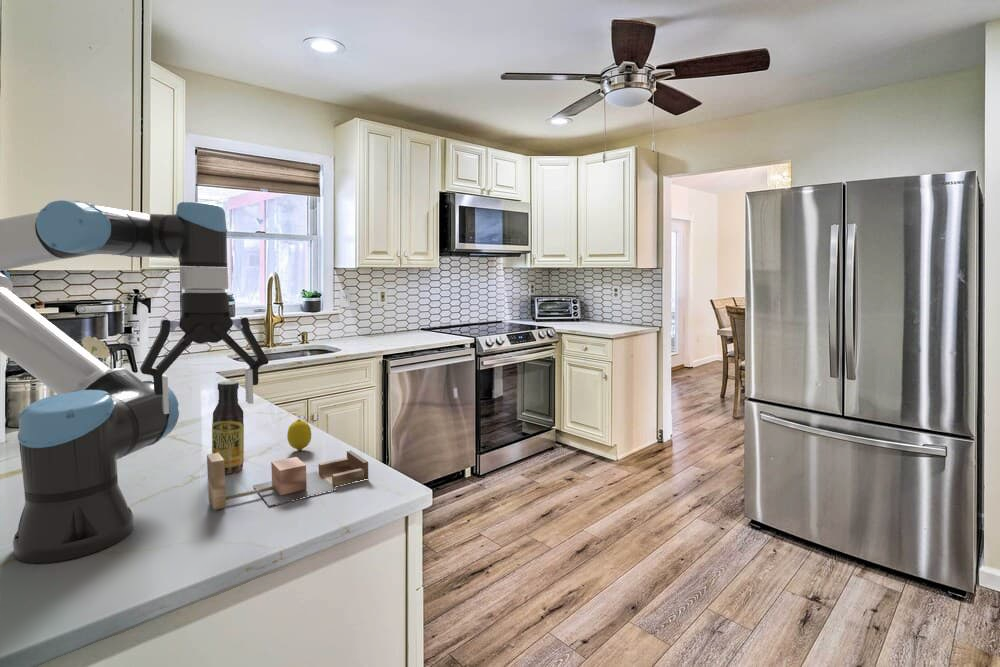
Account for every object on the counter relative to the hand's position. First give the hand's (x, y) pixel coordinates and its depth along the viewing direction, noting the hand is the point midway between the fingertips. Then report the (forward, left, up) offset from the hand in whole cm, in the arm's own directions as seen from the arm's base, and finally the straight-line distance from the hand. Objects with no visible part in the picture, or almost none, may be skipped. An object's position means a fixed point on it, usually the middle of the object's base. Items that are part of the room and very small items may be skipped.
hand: (209, 407), depth 96 cm
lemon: (+32, -3, -19) cm, 37 cm away
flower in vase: (+53, +65, -19) cm, 86 cm away
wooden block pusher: (+4, -6, -18) cm, 20 cm away
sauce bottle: (+18, +7, -19) cm, 27 cm away
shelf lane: (+11, -14, -19) cm, 26 cm away
